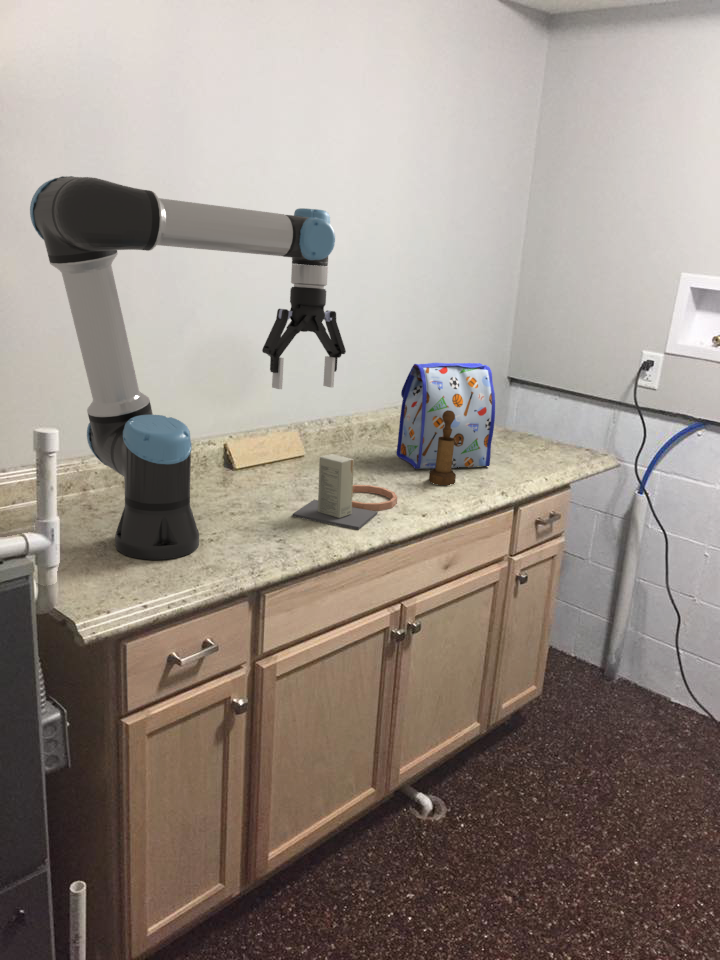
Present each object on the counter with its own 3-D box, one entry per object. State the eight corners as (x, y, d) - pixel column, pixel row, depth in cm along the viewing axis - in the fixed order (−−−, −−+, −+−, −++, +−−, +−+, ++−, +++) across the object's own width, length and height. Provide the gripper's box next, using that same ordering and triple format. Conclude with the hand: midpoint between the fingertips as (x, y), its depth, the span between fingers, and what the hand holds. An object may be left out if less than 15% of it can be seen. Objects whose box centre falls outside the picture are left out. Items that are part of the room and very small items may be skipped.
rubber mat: (358, 529, 171) (359, 527, 171) (292, 516, 176) (292, 513, 176) (377, 514, 181) (377, 511, 181) (313, 502, 186) (314, 499, 186)
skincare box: (352, 514, 178) (356, 459, 174) (339, 519, 175) (342, 462, 171) (329, 506, 182) (332, 452, 178) (315, 511, 178) (319, 455, 175)
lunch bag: (462, 451, 237) (473, 357, 229) (494, 468, 223) (506, 368, 215) (390, 455, 228) (398, 357, 220) (418, 473, 214) (428, 368, 206)
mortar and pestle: (453, 487, 204) (461, 415, 199) (427, 484, 205) (434, 412, 200) (456, 480, 210) (463, 409, 205) (430, 476, 211) (437, 406, 206)
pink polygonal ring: (384, 514, 181) (384, 508, 181) (326, 503, 186) (326, 496, 185) (403, 497, 193) (404, 491, 193) (349, 487, 198) (349, 481, 197)
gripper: (344, 288, 186) (338, 383, 191) (248, 282, 171) (244, 386, 176) (365, 290, 181) (358, 388, 186) (268, 284, 165) (264, 391, 170)
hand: (303, 387), depth 181 cm, fingers open, 13 cm apart
